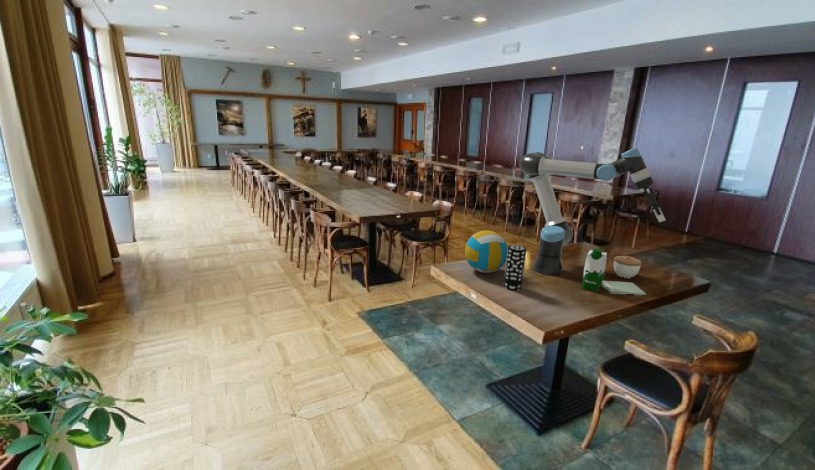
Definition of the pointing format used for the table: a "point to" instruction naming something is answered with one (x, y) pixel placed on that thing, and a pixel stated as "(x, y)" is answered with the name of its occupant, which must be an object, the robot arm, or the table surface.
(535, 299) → the table surface
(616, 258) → the lidded bowl
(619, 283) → the board
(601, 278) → the soya milk
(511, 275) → the spotted tube
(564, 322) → the table surface
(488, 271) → the volleyball
